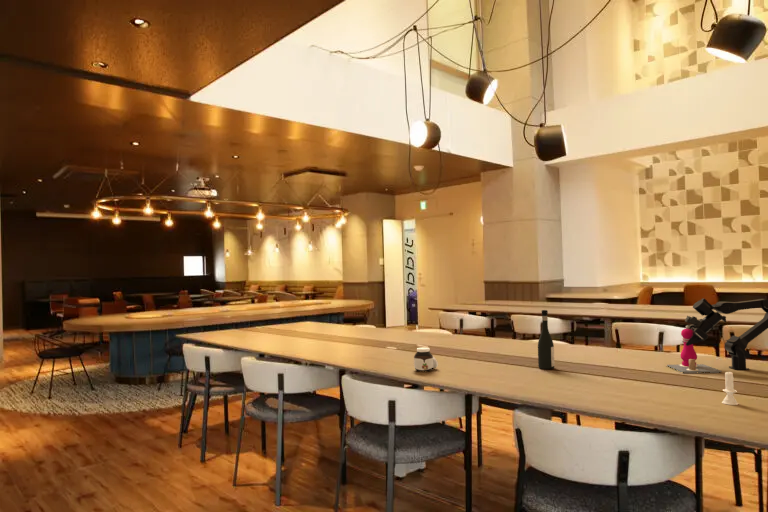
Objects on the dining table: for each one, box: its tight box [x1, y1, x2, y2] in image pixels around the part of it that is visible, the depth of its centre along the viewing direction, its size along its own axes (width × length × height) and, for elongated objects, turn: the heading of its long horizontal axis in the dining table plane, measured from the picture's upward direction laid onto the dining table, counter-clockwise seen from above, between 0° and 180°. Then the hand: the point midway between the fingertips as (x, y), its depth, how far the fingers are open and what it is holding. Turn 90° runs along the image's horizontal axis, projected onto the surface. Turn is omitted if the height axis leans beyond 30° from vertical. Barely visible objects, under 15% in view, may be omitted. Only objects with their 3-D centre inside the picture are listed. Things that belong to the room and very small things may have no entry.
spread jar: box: [413, 346, 439, 372], centre depth 279 cm, size 12×11×12 cm
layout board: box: [666, 359, 723, 374], centre depth 261 cm, size 17×18×6 cm
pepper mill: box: [680, 324, 698, 367], centre depth 266 cm, size 7×7×20 cm
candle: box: [721, 371, 739, 406], centre depth 200 cm, size 5×5×12 cm
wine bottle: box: [537, 309, 555, 370], centre depth 275 cm, size 8×8×30 cm
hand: (684, 343), depth 267 cm, fingers open, 9 cm apart
